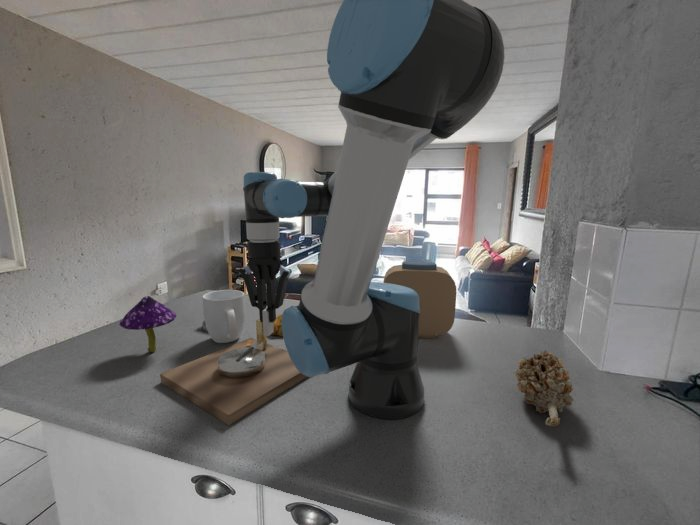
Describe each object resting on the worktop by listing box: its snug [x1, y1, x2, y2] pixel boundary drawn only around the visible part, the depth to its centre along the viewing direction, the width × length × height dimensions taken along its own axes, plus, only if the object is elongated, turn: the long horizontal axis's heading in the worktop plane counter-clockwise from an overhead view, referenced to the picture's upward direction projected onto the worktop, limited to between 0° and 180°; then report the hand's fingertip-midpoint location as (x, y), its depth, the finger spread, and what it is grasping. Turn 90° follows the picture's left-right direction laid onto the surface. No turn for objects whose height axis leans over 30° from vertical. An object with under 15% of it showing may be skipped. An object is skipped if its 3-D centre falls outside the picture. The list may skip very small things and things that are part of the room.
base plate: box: [159, 337, 309, 426], centre depth 74 cm, size 24×24×2 cm
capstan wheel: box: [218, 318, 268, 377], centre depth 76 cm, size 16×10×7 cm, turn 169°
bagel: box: [271, 313, 283, 337], centre depth 100 cm, size 10×11×5 cm
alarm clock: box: [382, 261, 457, 339], centre depth 99 cm, size 21×10×22 cm, turn 82°
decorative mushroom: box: [119, 295, 177, 353], centre depth 84 cm, size 12×12×15 cm
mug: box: [202, 289, 246, 344], centre depth 92 cm, size 15×11×13 cm
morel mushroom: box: [514, 350, 575, 427], centre depth 61 cm, size 22×10×10 cm, turn 161°
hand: (268, 333), depth 83 cm, fingers closed
